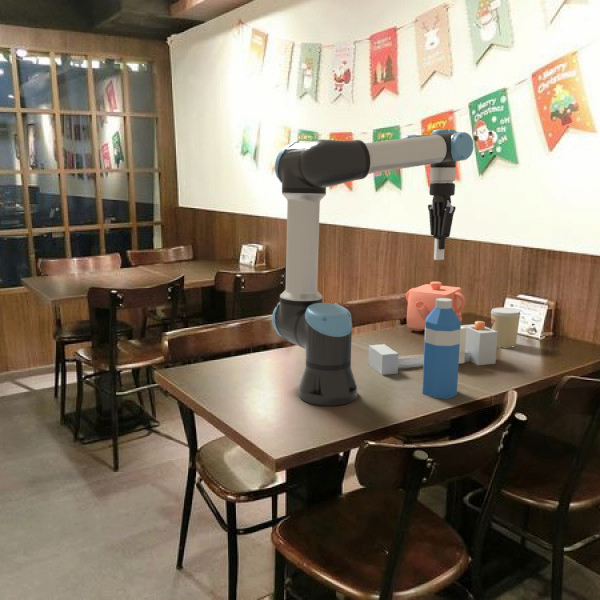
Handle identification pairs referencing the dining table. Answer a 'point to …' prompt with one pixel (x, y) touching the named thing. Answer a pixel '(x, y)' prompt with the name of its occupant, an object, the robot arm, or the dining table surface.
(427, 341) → the water bottle
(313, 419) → the dining table surface
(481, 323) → the button
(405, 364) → the rail
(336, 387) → the robot arm
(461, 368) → the dining table surface
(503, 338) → the coffee cup
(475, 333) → the grey block with recess
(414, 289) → the teapot
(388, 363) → the block
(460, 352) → the block
